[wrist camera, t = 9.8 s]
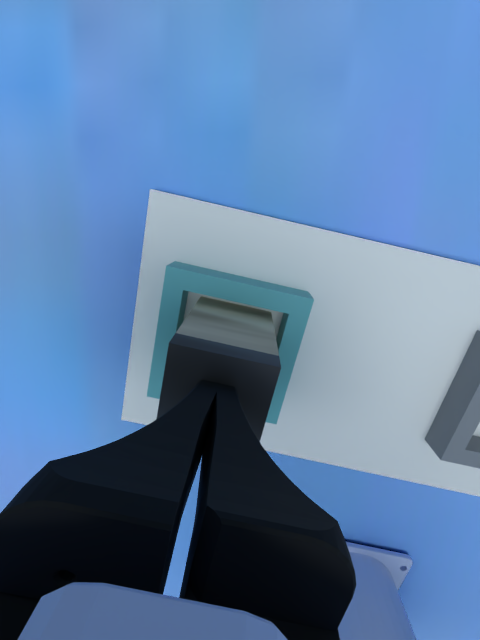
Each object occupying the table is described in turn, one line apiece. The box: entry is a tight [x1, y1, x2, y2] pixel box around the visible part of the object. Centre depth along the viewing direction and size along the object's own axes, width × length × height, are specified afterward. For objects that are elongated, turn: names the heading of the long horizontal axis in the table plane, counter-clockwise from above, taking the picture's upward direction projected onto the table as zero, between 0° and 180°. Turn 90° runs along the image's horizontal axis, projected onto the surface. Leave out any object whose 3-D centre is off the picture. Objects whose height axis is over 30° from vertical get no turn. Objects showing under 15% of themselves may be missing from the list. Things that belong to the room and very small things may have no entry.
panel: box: [121, 189, 480, 496], centre depth 18 cm, size 14×29×3 cm, turn 78°
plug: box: [156, 296, 281, 442], centre depth 15 cm, size 4×4×7 cm
